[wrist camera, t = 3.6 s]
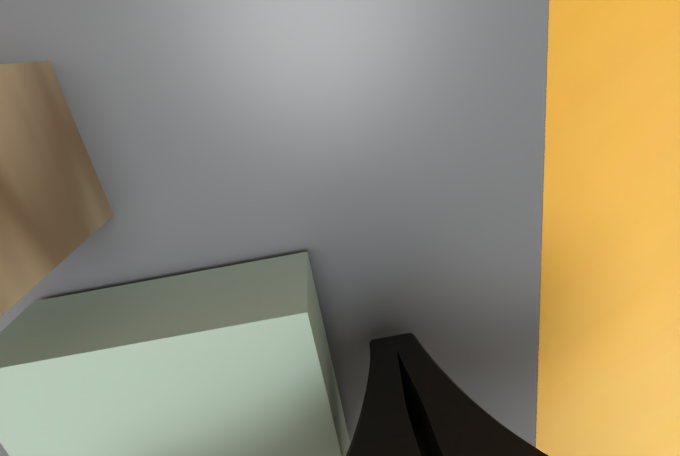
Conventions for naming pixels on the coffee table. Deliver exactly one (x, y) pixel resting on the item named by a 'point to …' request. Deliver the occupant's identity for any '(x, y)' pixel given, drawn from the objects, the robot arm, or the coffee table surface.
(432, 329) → the pin board
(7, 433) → the pale green square block
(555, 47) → the coffee table surface
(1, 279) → the peg
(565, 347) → the coffee table surface
